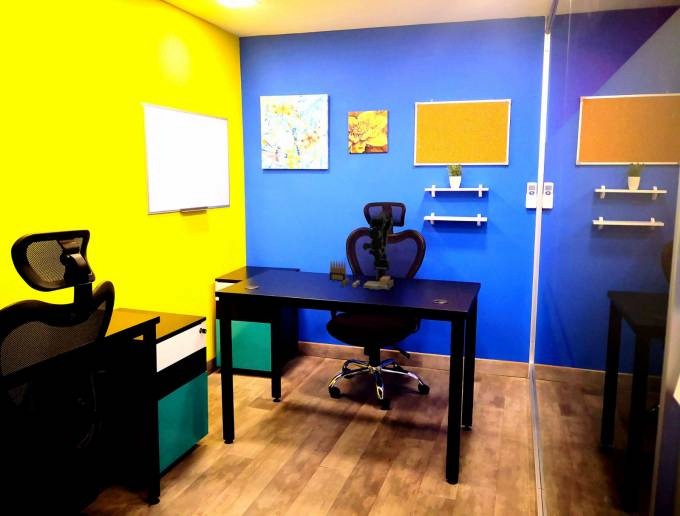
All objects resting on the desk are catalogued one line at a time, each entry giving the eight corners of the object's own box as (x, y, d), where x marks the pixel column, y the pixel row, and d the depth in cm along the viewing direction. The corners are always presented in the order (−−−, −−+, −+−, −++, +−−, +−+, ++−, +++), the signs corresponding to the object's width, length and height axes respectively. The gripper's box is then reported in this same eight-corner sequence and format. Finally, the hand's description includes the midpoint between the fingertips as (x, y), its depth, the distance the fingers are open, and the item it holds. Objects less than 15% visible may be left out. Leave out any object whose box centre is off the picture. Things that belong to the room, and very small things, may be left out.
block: (383, 282, 311) (383, 276, 310) (390, 282, 310) (390, 276, 309) (379, 285, 301) (379, 279, 301) (386, 285, 300) (386, 279, 300)
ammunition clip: (346, 281, 323) (346, 261, 322) (345, 282, 322) (345, 262, 320) (330, 280, 328) (330, 260, 326) (329, 280, 326) (329, 260, 325)
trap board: (347, 283, 318) (347, 277, 318) (393, 285, 311) (393, 279, 311) (341, 287, 306) (341, 281, 305) (389, 289, 299) (389, 283, 298)
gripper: (367, 236, 324) (366, 262, 326) (360, 239, 306) (360, 266, 308) (385, 236, 321) (385, 262, 323) (379, 239, 303) (379, 267, 306)
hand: (377, 265), depth 315 cm, fingers closed
